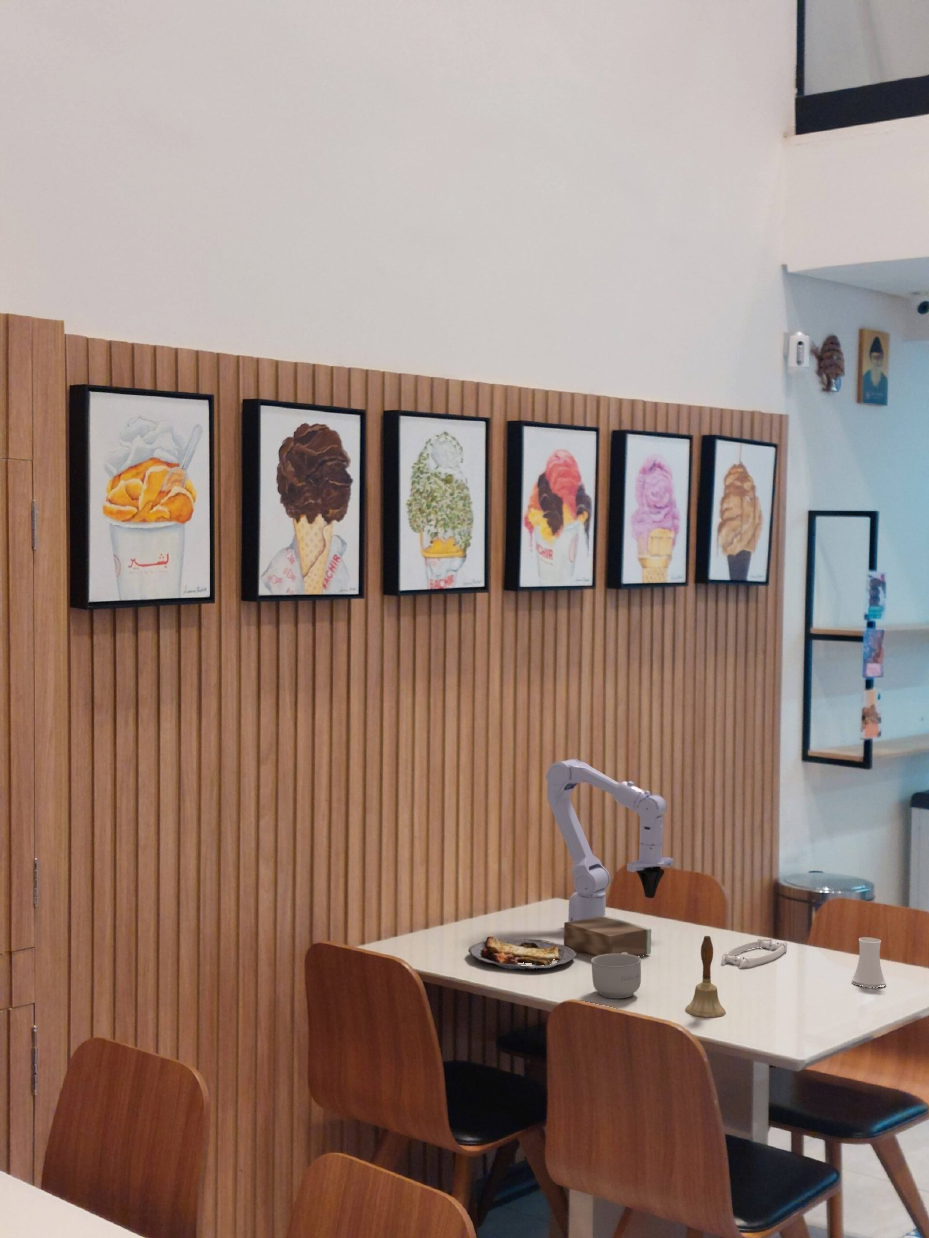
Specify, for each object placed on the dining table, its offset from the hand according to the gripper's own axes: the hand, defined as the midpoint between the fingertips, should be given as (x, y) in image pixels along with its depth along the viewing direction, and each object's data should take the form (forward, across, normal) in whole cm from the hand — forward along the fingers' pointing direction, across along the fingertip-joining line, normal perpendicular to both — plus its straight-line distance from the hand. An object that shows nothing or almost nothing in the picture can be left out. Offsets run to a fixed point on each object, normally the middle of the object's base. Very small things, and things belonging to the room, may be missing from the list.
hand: (649, 897), depth 361 cm
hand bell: (+11, -34, -51) cm, 62 cm away
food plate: (+11, -40, +2) cm, 42 cm away
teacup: (+11, -40, -31) cm, 52 cm away
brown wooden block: (+10, -19, -4) cm, 22 cm away
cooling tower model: (+10, +13, -57) cm, 59 cm away
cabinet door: (+10, -12, -4) cm, 16 cm away
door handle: (+11, +9, -27) cm, 31 cm away
